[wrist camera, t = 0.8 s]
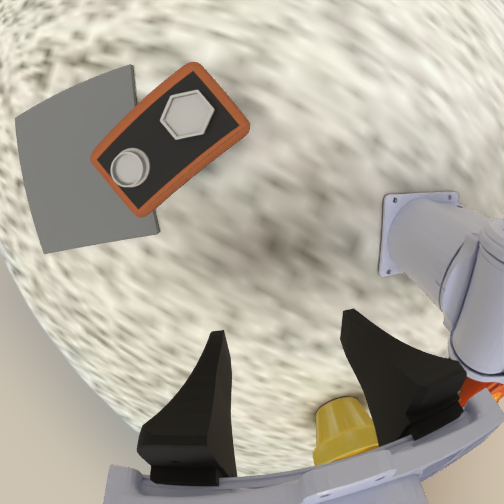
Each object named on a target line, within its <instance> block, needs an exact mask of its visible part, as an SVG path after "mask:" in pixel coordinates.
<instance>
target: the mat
mask: <svg viewBox="0 0 504 504" xmlns="http://www.w3.org/2000/svg"><path fill="white" fill-rule="evenodd" d="M136 105H137V100H136V91H135V81H134V70H133V65H131V64H130V65H127V66H124V67H121V68H118V69H115V70H112V71H109V72H107V73H104V74H101V75H99V76H96V77H94V78H91V79H89V80H87V81H84V82H82V83H80V84H77V85H75V86H73V87H71V88H69V89H67V90H64V91H62V92H60V93H58V94H56V95H54V96H52V97H51V98H49V99H47V100H45V101H43V102H41V103H39V104H38V105H36V106H34V107H32V108H31V109H29V110H27V111H26V112H24V113H22V114H21V115H19V116H18V117H16V118H15V126H16V136H17V145H18V152H19V158H20V165H21V170H22V175H23V180H24V185H25V190H26V194H27V198H28V202H29V206H30V210H31V214H32V217H33V221H34V224H35V228H36V231H37V234H38V237H39V240H40V243H41V246H42V249H43V252H44V254H48V253H53V252H58V251H63V250H68V249H74V248H79V247H85V246H90V245H96V244H101V243H107V242H113V241H119V240H125V239H131V238H137V237H143V236H149V235H156V234H159V232H160V230H159V226H158V221H157V217H156V212H155V210H154V211H153V212H151V213H150V214H149V215H147V216H146V217H143V218H139V217H137V216H135V215H134V213H133V212H132V211H131V210H130V209H129V208H128V207H127V205H126V204H125V203H124V202H123V201H122V200H121V198H120V197H119V196H118V195H117V194H116V192H115V191H114V190H113V189H112V188H111V186H110V185H109V184H108V183H107V182H106V180H105V179H104V178H103V177H102V176H101V174H100V173H99V172H98V171H97V169H96V168H95V167H94V165H93V164H92V163H91V160H90V156H91V153H92V152H93V150H94V149H95V148H96V146H97V145H98V144H99V143H100V142H101V141H102V140H103V139H104V137H105V136H106V135H107V134H108V133H109V132H110V131H111V130H112V129H113V128H114V127H115V126H116V125H117V124H118V123H119V122H120V121H121V120H122V119H123V118H124V117H125V116H126V115H127V114H128V113H129V112H130V111H131V110H132V109H133V108H134V107H135V106H136Z"/></svg>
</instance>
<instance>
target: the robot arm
mask: <svg viewBox="0 0 504 504" xmlns="http://www.w3.org/2000/svg"><path fill="white" fill-rule="evenodd" d="M448 196H449V198H448ZM394 198H395V201H394V202H393V199H394ZM458 202H459V194H458V193H457V192H424V193H403V194H388V195H386V196H385V197H384V207H383V227H382V241H381V253H380V263H379V275H380V276H381V277H386V276H391V275H396V274H402V273H405V274H406V275H407V276H408V277H409V278H410V279H411V280H412V281H413V282H414V283H415V284H416V285H417V286H418V287H419V288H420V289H421V290H422V291H423V292H424V293H425V294H426V295H427V296H428V297H429V298H430V299H431V301H432V302H433V303H434V304H435V305H436V306H437V307H438V308H439V309H440V310H441V311H442V312H443V314H444V322H443V324H444V326H445V327H446V328H447V329H448V330H449V332H450V333H451V335H450V337H449V340H448V352H449V355H450V358H451V359H447V358H442V357H438V356H435V355H432V354H429V353H426V352H423V351H421V350H418V349H416V348H413V347H411V346H409V345H407V344H405V343H403V342H401V341H399V340H398V339H396V338H394V337H393V336H391V335H389V334H388V333H386V332H385V331H383V330H382V329H380V328H379V327H378V326H376V325H375V324H373V323H372V322H371V321H369V320H368V319H367V318H365V317H364V316H363V315H362V314H360V313H359V312H358V311H356V310H355V309H350V310H345V311H343V317H342V327H341V336H340V340H341V343H342V346H343V349H344V352H345V355H346V357H347V359H348V361H349V363H350V365H351V367H352V369H353V371H354V373H355V375H356V377H357V379H358V381H359V383H360V385H361V387H362V389H363V392H364V395H365V397H366V400H367V403H368V406H369V410H370V413H371V416H372V420H373V424H374V427H375V431H376V436H377V440H378V445H379V448H376V449H373V450H370V451H367V452H364V453H361V454H358V455H355V456H351V457H348V458H345V459H341V460H337V461H334V462H330V463H326V464H322V465H317V466H313V467H308V468H303V469H298V470H293V471H287V472H280V473H273V474H266V475H257V476H246V477H237V471H236V464H235V456H234V447H233V437H232V426H231V388H232V369H231V357H230V353H229V349H228V345H227V341H226V337H225V333H224V330H221V331H212V332H211V333H210V336H209V339H208V341H207V344H206V346H205V348H204V351H203V353H202V355H201V357H200V359H199V361H198V363H197V365H196V366H195V368H194V370H193V371H192V373H191V375H190V376H189V378H188V379H187V381H186V382H185V384H184V385H183V386H182V388H181V389H180V390H179V391H178V393H177V394H176V395H175V396H174V398H173V399H172V400H171V401H170V402H169V403H168V404H167V405H166V406H165V407H164V408H163V409H162V410H161V411H160V412H159V413H158V414H156V415H155V416H154V417H153V418H151V419H150V420H149V421H148V422H146V423H145V424H144V425H143V426H142V429H141V432H140V435H139V440H138V445H137V452H138V454H139V455H140V456H141V457H142V458H143V459H144V460H145V461H146V462H147V463H149V464H150V465H151V472H150V475H143V474H141V473H140V472H139V471H138V470H136V469H133V468H130V467H123V466H117V465H110V468H109V473H108V478H107V484H106V490H105V496H104V503H103V504H429V503H428V500H427V497H426V495H425V492H424V490H423V487H422V485H421V482H422V481H424V480H425V479H427V478H429V477H431V476H432V475H434V474H436V473H438V472H439V471H441V470H443V469H444V468H446V467H447V466H449V465H450V464H452V463H454V462H455V461H457V460H458V459H459V458H461V457H462V456H464V455H465V454H467V453H468V452H470V451H471V450H472V449H474V448H475V447H477V446H478V445H479V444H481V443H482V442H483V441H485V440H486V438H488V437H489V436H490V435H491V434H492V433H493V432H494V430H495V429H496V428H498V426H499V425H500V424H501V423H502V422H503V421H504V413H503V411H502V410H501V408H500V407H499V405H498V404H497V402H496V401H495V399H494V398H493V396H492V395H491V394H490V392H489V391H488V389H487V388H484V389H483V390H481V391H480V392H478V393H477V394H475V395H474V396H472V397H471V398H470V399H469V400H468V401H467V403H466V404H465V406H464V407H463V408H462V406H461V405H460V403H459V402H458V401H459V399H460V397H459V395H458V394H457V393H458V391H459V390H460V388H461V387H462V385H463V383H464V382H465V380H466V377H469V378H471V379H474V380H477V381H481V382H498V383H502V384H504V219H493V220H492V219H490V218H488V217H486V216H484V215H482V214H481V213H479V212H477V211H475V210H473V209H471V208H468V207H466V206H464V205H462V204H460V203H458ZM387 270H389V271H388V272H387Z"/></svg>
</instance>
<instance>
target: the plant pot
mask: <svg viewBox="0 0 504 504" xmlns="http://www.w3.org/2000/svg"><path fill="white" fill-rule="evenodd" d="M376 448H379V445H378V440H377V436H376V431H375V427H374V424H373V420H372V419H371V417H370V416H369V415H368V413H367V412H366V411H365V409H364V408H363V407H362V405H361V404H360V403H359V401H358V400H357V399H356V398H353V397H342V398H338V399H335V400H332V401H330V402H328V403H326V404H324V405H323V406H322V407H320V408H319V409H318V411H317V413H316V448H315V449H314V451H313V459H314V464H315V466H317V465H322V464H326V463H330V462H334V461H337V460H341V459H345V458H348V457H351V456H355V455H358V454H361V453H364V452H367V451H370V450H373V449H376Z"/></svg>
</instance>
